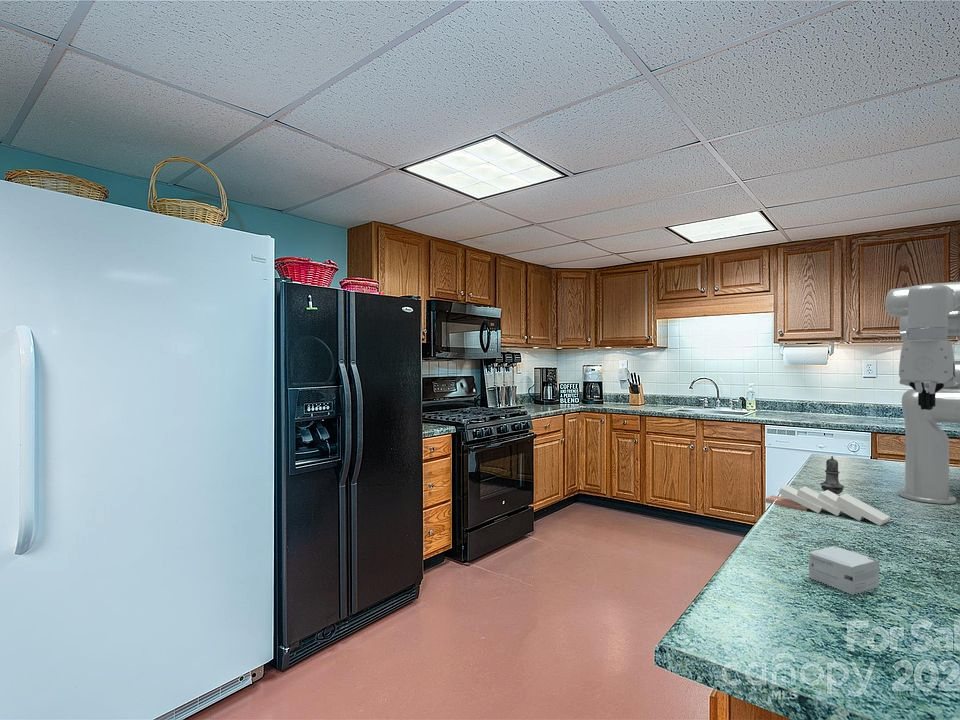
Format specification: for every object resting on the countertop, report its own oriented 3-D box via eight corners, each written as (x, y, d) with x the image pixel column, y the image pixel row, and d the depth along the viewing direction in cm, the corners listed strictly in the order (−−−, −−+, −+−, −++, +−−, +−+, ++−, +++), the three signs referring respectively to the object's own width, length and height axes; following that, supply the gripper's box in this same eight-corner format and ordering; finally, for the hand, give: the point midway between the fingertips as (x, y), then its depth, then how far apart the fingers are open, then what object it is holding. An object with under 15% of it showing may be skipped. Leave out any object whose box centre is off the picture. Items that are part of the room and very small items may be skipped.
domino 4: (887, 522, 127) (843, 498, 135) (890, 516, 127) (846, 493, 134) (879, 525, 125) (835, 501, 132) (882, 520, 124) (838, 496, 132)
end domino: (812, 508, 140) (772, 500, 148) (812, 502, 140) (772, 495, 148) (806, 512, 137) (765, 504, 145) (806, 506, 137) (765, 498, 145)
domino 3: (866, 517, 131) (825, 494, 139) (869, 512, 131) (827, 489, 138) (859, 521, 128) (817, 497, 136) (862, 515, 128) (819, 492, 135)
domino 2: (842, 512, 135) (802, 491, 142) (845, 506, 135) (804, 486, 142) (837, 516, 132) (796, 494, 139) (840, 510, 131) (798, 489, 138)
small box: (807, 579, 95) (807, 551, 95) (834, 571, 98) (834, 544, 98) (852, 597, 88) (852, 566, 88) (880, 588, 91) (880, 559, 91)
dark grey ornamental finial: (848, 500, 147) (848, 458, 147) (825, 499, 148) (825, 457, 148) (838, 495, 152) (838, 454, 152) (816, 494, 154) (816, 453, 154)
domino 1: (823, 509, 138) (784, 489, 145) (826, 503, 138) (786, 484, 144) (818, 513, 135) (778, 493, 141) (821, 508, 134) (780, 488, 141)
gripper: (885, 336, 132) (884, 408, 133) (963, 334, 120) (963, 413, 121) (894, 336, 137) (894, 405, 138) (971, 334, 125) (971, 410, 125)
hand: (926, 409), depth 129 cm, fingers closed
